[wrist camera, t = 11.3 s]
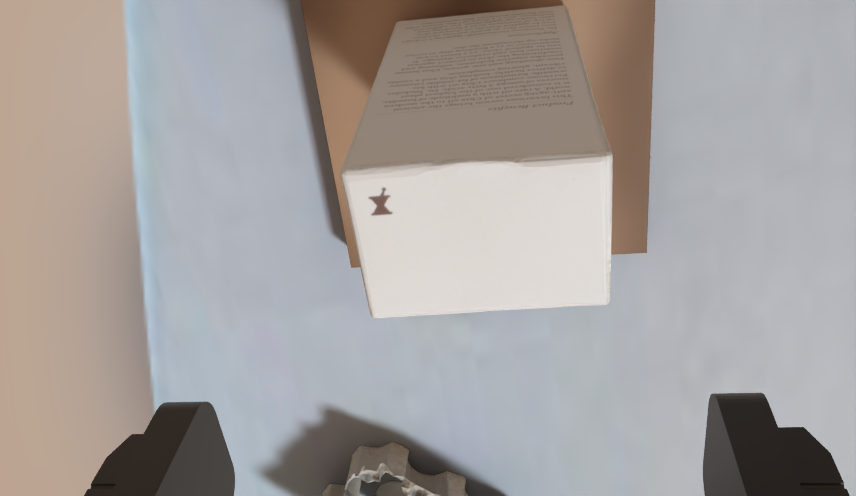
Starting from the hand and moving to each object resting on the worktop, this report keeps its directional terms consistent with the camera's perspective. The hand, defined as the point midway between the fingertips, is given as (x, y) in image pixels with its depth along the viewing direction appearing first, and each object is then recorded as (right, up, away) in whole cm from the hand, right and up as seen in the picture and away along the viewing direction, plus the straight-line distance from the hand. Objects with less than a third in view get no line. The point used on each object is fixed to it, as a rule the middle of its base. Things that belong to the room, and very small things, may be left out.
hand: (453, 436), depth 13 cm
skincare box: (+2, +10, +16) cm, 18 cm away
